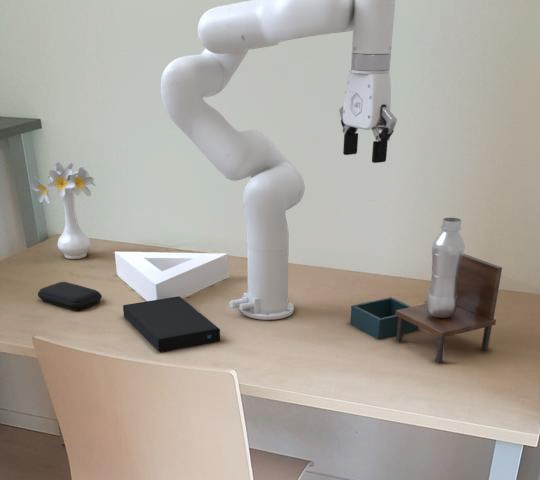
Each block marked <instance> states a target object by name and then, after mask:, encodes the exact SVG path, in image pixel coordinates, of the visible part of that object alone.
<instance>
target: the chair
mask: <svg viewBox="0 0 540 480" xmlns="http://www.w3.org/2000/svg"><path fill="white" fill-rule="evenodd" d="M502 271H503V266H500V265H497V264H493V263H491V262H488V261H485V260H483V259H481V258H477V257H474V256H472V255H469V254H466V253H464V254H463V257H462V261H461V265H460V270H459V273H458V284H457V297H458V306H457V309H456V312H455V313H454V315H453V316H451V317H446V318H439V317H434V316H431V315H429V314H428V313H427V311H426V305H425V303H422V304H418V305H415V306H414V305H413V306H411V307H408V308H404V309H399V310H396V313H395V316H397V317H398V325H397V335H395V341H396V342H397V343H401V342H403V338H404V337H403V336H404V333H403V328H404V320H406V321H408V322H410V323H412V324H414V325H416V326H418V327H419V328H420V329H422V330H423V331H426V332H428V333H430V334H433V335H434V336H436V337H438V339H437V347H436V353H435V363H437V364H440V363H443V356H444V349H445V342H446V338H448V337H452V336H456V335H461V334H464V333H465V334H466V333H468V332H473V331H477V330H480V329H484V331H483V336H482V341H481V351H483V352H486V351H488V350H489V345H490V339H491V333H492V327H493V326H496V323H497V319H496V318H495V312H496V308H497V300H498V294H499V289H500V284H501V283H500V282H501V279H502V278H501V277H502Z"/></svg>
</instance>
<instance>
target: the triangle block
mask: <svg viewBox="0 0 540 480" xmlns="http://www.w3.org/2000/svg"><path fill="white" fill-rule="evenodd" d="M114 258H115V268H116V269H115V270H116V276H117V277H118V278H119V279H120V280H122V281H123V282H124V283H125V284H126V285H128V286H129V287H130V288H131V289H132V290H133V291H135V292H136V293H137V294H138V295H139V296H140V297H141V298H143V299H144V300H145V302H146V301H153V300H159V299H165V298H172V297H178V296H180V297H181V298H182V299H183V300H184V299H185V298H187V297H189V296H191V295H194V294H196V293H198V292H201V291H202V290H204V289H207V288H209V287H211V286H213V285H215V284H218V283H220V282H222V281H224V280H226V279H228V278H229V277H230V275H229V274H230V272H229V271H230V269H229V253H220V252H219V253H217V252H215V253H213V252H167V251H166V252H162V251H161V252H158V251H156V252H155V251H151V252H150V251H114Z"/></svg>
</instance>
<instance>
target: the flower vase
mask: <svg viewBox="0 0 540 480" xmlns="http://www.w3.org/2000/svg"><path fill="white" fill-rule="evenodd" d="M73 167H74V164H73V162H69V163H67V165H65V167H64V166H63V165H62V163H61V162H58V161H56V162H55V163H54V169H49V171H48V174H49V175H48V179H50V181H49V182H47V184H46V185H45V184H44V183H42V182H41V180H39V179H38V178H37V177H36V176H33V181H34V183H30V184H29V187H30V188H31V189H32V191H35V192H38V194H37V201H38V202H39V203H40V204H41V203H43V201H44V200H45V202H46V203H47V204H49V205H50V204H51V201H50V197H49V192H50V191H54V190H57V195H58V196H59V197H60V198H62V202H63V208H64V209H63V211H64V227H63V228H64V229H63V232H62V233H61V235H59V237H58V239H57V243H56V244H57V245H56V247H57V248H58V250H59V251H60V252H61V253H62V254H64V255H63V256H64V258H65V259H69V260H80V259H83V258H86V257H87V254H88V253H87V252H89V251H90V249H91V247H92V243H91V240H90V238H89V237H88V235H86V233H84V232H83V231H82V229H81V227H80V224H79V221H78V217H77V209H76V205H75V204H76V203H75V196H80V194H81V193H83V194H84V195H85V196H87V197H91V195H92V192H91V190H90V188H89V187H88V186H89V185H93V186H94V187H96V184H95V183H94V177H92V176H90V174H89V172H88V171H87V170H86V169H85V167H84V165H83V164H82V162H81V160H79V168H78V171H74V172H73Z"/></svg>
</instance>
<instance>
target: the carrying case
mask: <svg viewBox="0 0 540 480" xmlns="http://www.w3.org/2000/svg"><path fill="white" fill-rule="evenodd" d="M37 297H38V298H39V299H40V300H42V301H43V302H46V303H50V304H53V305H55V306H59V307H63V308H66V309H70V310H73V311H80V310H82V309H84V308H88V307H90V306H92V305H93V306H94V305H95V304H98V303H99V302H100V301H101V300H102V298H103V295H102V293H100V291H98V290H96V289H94V288H91V287H86V286H82V285H79V284H75V283H71V282H68V281H59V282H56V283H53V284H51V285H48V286H44V287H42V288H40V289H39V290H38V292H37Z"/></svg>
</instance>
